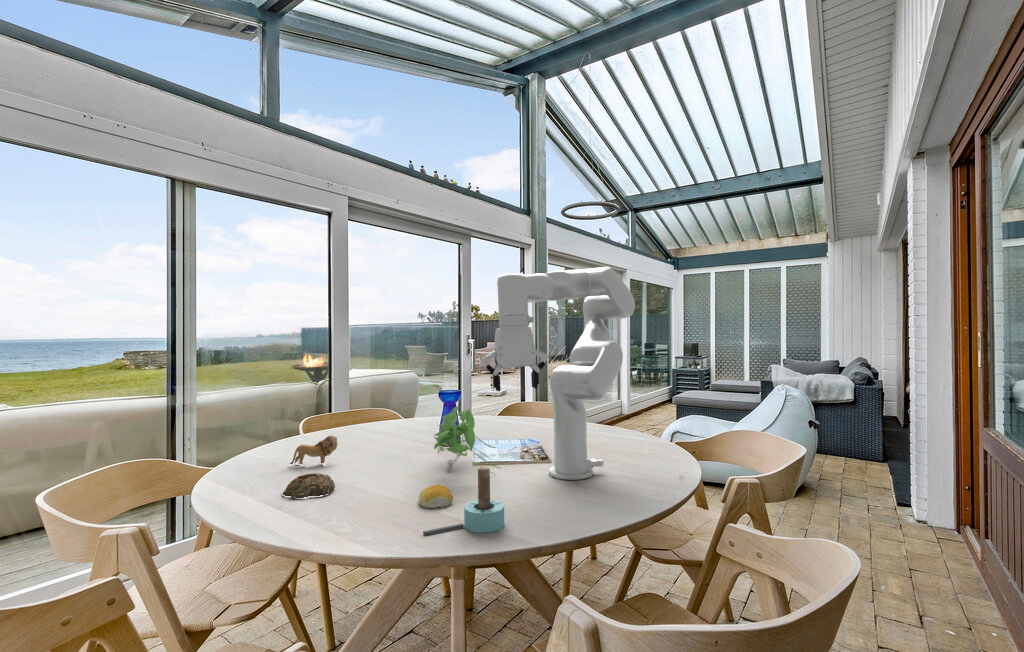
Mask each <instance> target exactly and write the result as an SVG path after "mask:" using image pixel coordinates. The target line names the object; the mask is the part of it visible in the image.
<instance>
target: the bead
mask: <svg viewBox="0 0 1024 652" xmlns="http://www.w3.org/2000/svg"><path fill="white" fill-rule="evenodd" d="M463 511H464V512H463V516H464V520H463V522H464V523H463V525H464V529H465V530H467V531H469V532H471V533H478V534H485V532H487V533H494V532H497V531H499V530H501V529H502V528H504V526H505V505H504V503H503V502H501V501H499V500H497V499H490V509H488V510H478V499H475V500H472V501H468V502H467V503H466V504H465V505H464V506H463ZM496 530H497V531H496ZM493 531H494V532H493Z"/></svg>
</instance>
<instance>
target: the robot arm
mask: <svg viewBox="0 0 1024 652" xmlns="http://www.w3.org/2000/svg"><path fill="white" fill-rule="evenodd" d="M581 298H584V300H583V304H582V312H583V314H582V315H583V319H584V330H583V333H582V334H581V335H580V337H579V338H578V340H577V341H576V343H575V345H574V347H573V348H572V350H571V352H570V354H569V363H570V364H562V365H559V366H556V367H555V368H553V370H552V371H551V373H550V376H549V387H550V392H551V397H552V404H553V407H552V408H553V449H554V450H553V452H554V453H553V459H554V460H553V461H554V463H553V464H554V465H553V466H551V467H550V468H549V470H548V474H549V475H550V476H552V477H553V478H555V479H560V480H567V481H569V480H571V481H574V480H584V479H589V478H591V477H592V476H593V474H594V473H593V472H594V471H593V468H594V467H595V468H599V467H604V460H603V459H596V458H589V457H588V443H587V442H588V435H587V433H588V432H587V431H588V430H587V429H588V427H587V425H588V424H587V418H588V417H587V410H586V408H585V405H584V403H583V401H582V400H585V401H586V400H588V401H601V400H602V399H603V398H605V396H606V395H607V394H608V392H609V390H610V388H612V385H613V384H614V381H615V379H616V377H617V376H618V374H619V372H620V370H621V369H622V365H623V360H624V359H623V357H624V355H623V353H624V352H623V349H622V347H621V346H620V344H619V343H618V342H616V341H613V340H611V332H610V330H609V329H608V327H607V325H606V324H605V322H604V321H605V320H618V319H619V320H620V319H627V318H630V317H631V316H632V315H633V314H634V312H635V309H636V302H635V301H636V300H635V298H634V295H633V293H631V290H629V288H628V286H627V285H626V284H625V282H624V281H623V279H622V278H621V276H620V275H619V274H618V273H617V272H616V271H615V270H614V269H612V267H609V266H603V267H602V266H601V267H594V268H593V267H592V268H582V269H580V268H579V269H565V270H563V269H562V270H554V271H550V272H545V273H531V274H524V273H516V272H515V273H504V274H501V275H499V276H498V278H497V302H498V303H497V304H498V309H497V310H498V328H495V334H494V346H493V347H494V348H493V349H494V350H493V351H492V352H490V353H489V354H487V355H485V356H483V357H482V358H481V360H480V361H481V362H482V363H483V366H484V367H485V369H486V370H487V371H488V372H490V374H491V375H492V386H493V387H492V388H494V389H495V391H497V392H500V391H501V376H500V374H499V373H500V372H501V370H502V369H504V368H518V367H521V368H522V367H529V368H530V369H531V370H532V371H531V373H530V374H531V375H530V376H531V387H532V388H533V389H538V385H540V373H541V370H542V369H543V368H544V367H545V365H546V362H547V361H548V358H549V355H548V354H547V353H545V352H543V351H541V350H539V349H536V348H535V341H534V335H533V330H532V327H530V324H531V323H534V321H535V319H534V316H529V306H528V305H529V304H531V303H542V302H545V301H549V302H551V301H554V302H555V301H556V302H557V301H566V300H574V299H581ZM528 303H529V304H528ZM537 356H538V357H540V361H539V362H538V363H536V361H537V360H536V359H537V358H536V357H537ZM493 358H494V359H493ZM492 359H493V360H494V361H493V362H494V364H495V366H494V367H492V366H491V364H490V362H489V361H490V360H492Z"/></svg>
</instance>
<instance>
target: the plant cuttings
mask: <svg viewBox="0 0 1024 652" xmlns="http://www.w3.org/2000/svg"><path fill="white" fill-rule="evenodd" d="M458 410H460V406H459V405H456V406H455V407H454V408H453V409H451V410H450V411H449V413H447V414H445V415H444V416H441V418H442V420H441V423H440V424H438V427H439V431H438V432H437V433H435V434H434V435H433V437H434V439H435V440H436V443H435V444H434V446H433V447H434V450H437V453H438V455H439V454H440V452H444V451H445V450H447V451H448V452H451V453H453V454H456V456H455V458H454V460H453V459H448V460H447V465H446V469H448V471H450V470H451V469H453V468H454V466H453V465H454V464H455V463H456V462H457V461H458V459H459V457H461V456H464V457H467V456H468V452H467V451H469V450H470V452H473V453H474V454H475V455H476V456H477V457H478V458H480V459H481V460H482V461H483V462H485V463H487V464H489V465H490V466H492V467H494V468H497V469H502V467H499V466H496V465H494V464H492V463H490V462H489V461H487V460H486V459H485V458H483V457H481V455H479V454H478V453H476V452H475V451H474V450H476V451H478V452H480V453H481V454H482V455H483V456H485V457H487V458H489V459H490V458H491V457H490V456H488V455H487V454H485V453H484V452H483V451H480V450H478V449H477V448H475V447H474V446H475V442H476V439H477V440H478V441H480V442H481V443H483V444H484V445H485V446H488V447H489V448H492V449H497V447H496V446H491V445H489V444H487V443H486V442H485V441H483V440H482V439H480V438H479V437H478V436H476V435H475V430H474V428H475V418H474V416H473V414H472V412H471V411H470V410H471V409H466V410H462V411H459V412H458ZM457 412H458V413H457ZM457 414H458V416H459V418H458V417H457ZM459 420H460V421H461V422H459ZM457 424H458V425H457ZM461 436H462V437H461ZM444 446H445V448H444ZM473 449H474V450H473ZM467 459H468V460H470V461H472V462H473V463H475V464H477V465H478V466H479V467H480V468H483V467H484V466H482V465H481V464H478V462H475V461H473V459H469V457H467ZM490 474H492V475H493V476H496V474H495V473H493V472H492V471H490Z"/></svg>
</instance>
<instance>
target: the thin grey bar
mask: <svg viewBox="0 0 1024 652" xmlns="http://www.w3.org/2000/svg"><path fill="white" fill-rule="evenodd" d="M463 528H464V529H465V525H464V523H457V524H453V525H448V526H443V527H438V528H433V529H428V530H423V531H422V534H423V536H428V535H433V533H435V534H438V532H439V533H444V532H449V531H454V530H459V529H463ZM443 531H444V532H443Z"/></svg>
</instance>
